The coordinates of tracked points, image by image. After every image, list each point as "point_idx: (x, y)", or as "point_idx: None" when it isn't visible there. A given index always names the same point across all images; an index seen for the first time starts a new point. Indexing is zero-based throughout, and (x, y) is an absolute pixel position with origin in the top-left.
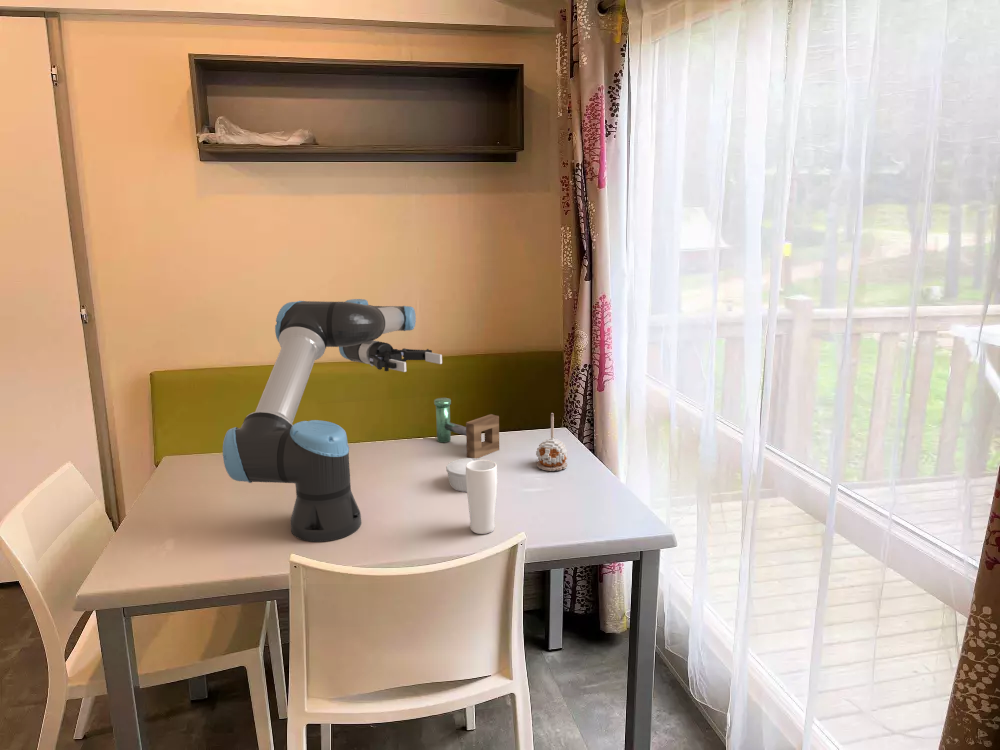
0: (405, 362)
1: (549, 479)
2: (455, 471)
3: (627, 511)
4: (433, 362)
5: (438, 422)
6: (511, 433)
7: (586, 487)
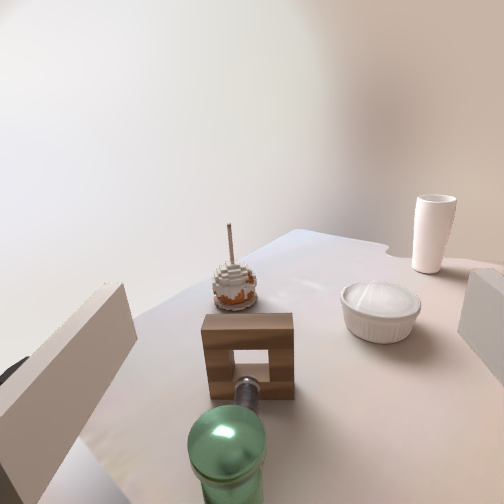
0: (476, 270)
1: (273, 288)
2: (411, 296)
3: (285, 242)
4: (103, 392)
5: (262, 500)
6: (90, 426)
7: (265, 266)
